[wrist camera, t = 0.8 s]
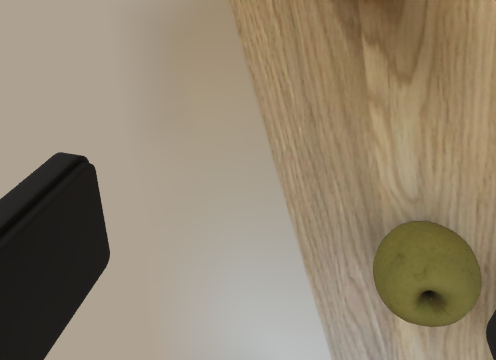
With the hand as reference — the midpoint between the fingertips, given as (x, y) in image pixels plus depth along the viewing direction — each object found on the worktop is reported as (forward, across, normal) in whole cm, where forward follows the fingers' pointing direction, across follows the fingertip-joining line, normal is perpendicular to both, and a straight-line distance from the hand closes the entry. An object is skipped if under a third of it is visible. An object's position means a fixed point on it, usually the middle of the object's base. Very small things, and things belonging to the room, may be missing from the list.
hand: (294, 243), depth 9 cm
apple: (+22, -10, +17) cm, 30 cm away
